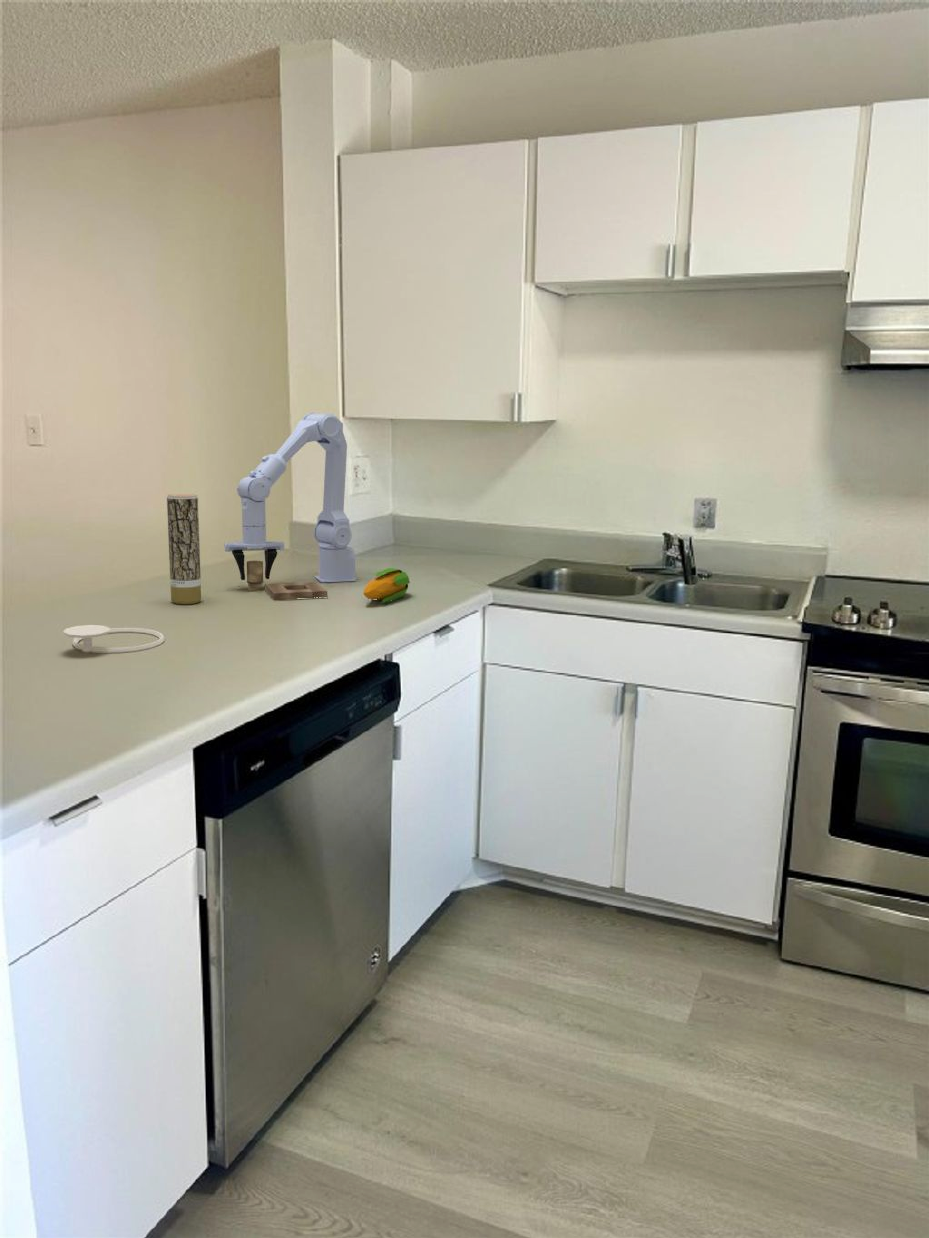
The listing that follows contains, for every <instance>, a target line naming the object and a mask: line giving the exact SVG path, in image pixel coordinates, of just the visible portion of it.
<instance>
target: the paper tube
mask: <svg viewBox="0 0 929 1238" xmlns="http://www.w3.org/2000/svg"><path fill="white" fill-rule="evenodd" d="M166 496H167V497H166V504H167V505H166V509H167V511H166V513H167V534H168V555H169V556H168V560H169V579H170V581H169V583H170V601H171V602H172V603H173V604H175V605H194V604H198V603H200V602H201V601H202V588H201V587H202V583H201V580H202V579H201V554H200V553H201V552H200V551H201V549H200V547H201V546H200V523H199V520H200V519H199V516H200V515H199V497H198V494H194V493H193V494H191V493H172V494H167V495H166Z"/></svg>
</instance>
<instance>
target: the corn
mask: <svg viewBox="0 0 929 1238" xmlns="http://www.w3.org/2000/svg"><path fill="white" fill-rule="evenodd" d="M373 576H376V577H374V578H373V579H371V580H370V581H369V582H368V583H367V584H366V586H364V587H365V588H364V590H363V592H362V595H363V596H364V597H365V598H367V600H372V601H374V600H373V599H377V600H379V601H381V604H387V603H386V602H388V603H390V602H389V601H391V600H394V599H396V600H398V599H400V598H403V597H405V595H406V592H407V590H408V588H409V584H410V578H409V575H408V574H407V573H406V571H403V570H401V569H398V568H394V567H389V568H386V569H383V570H379V571H377V572H376V573H374V574H373ZM402 596H403V597H402ZM399 597H400V598H399ZM397 598H398V599H397ZM394 601H395V600H394ZM391 602H392V601H391Z"/></svg>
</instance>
